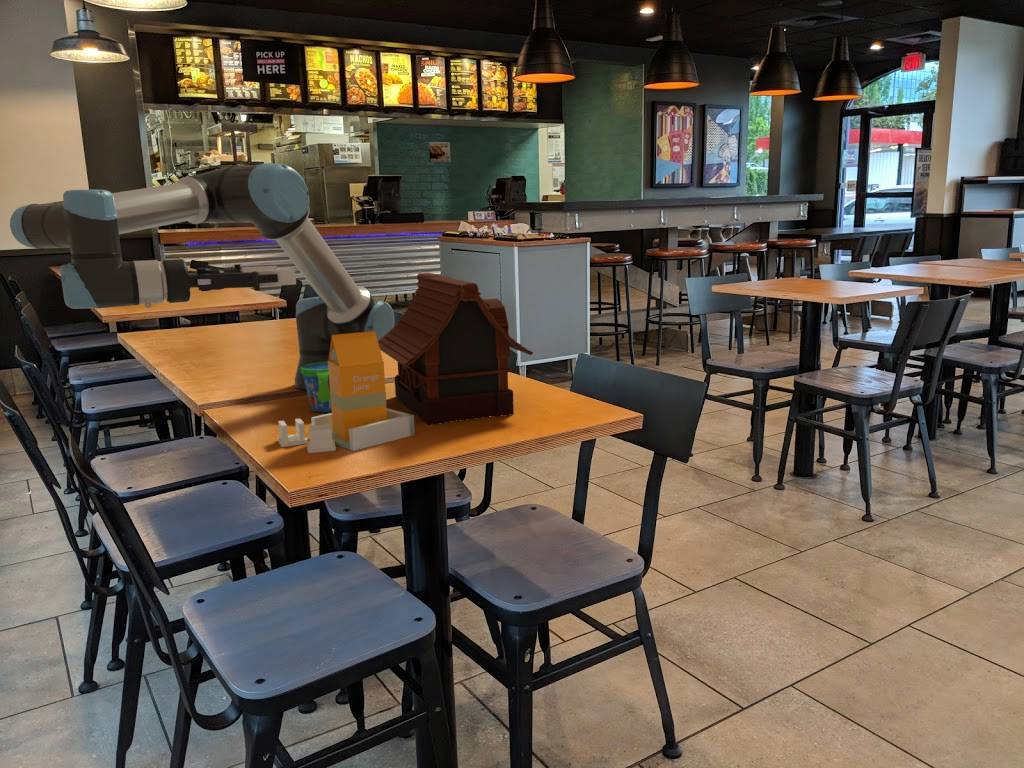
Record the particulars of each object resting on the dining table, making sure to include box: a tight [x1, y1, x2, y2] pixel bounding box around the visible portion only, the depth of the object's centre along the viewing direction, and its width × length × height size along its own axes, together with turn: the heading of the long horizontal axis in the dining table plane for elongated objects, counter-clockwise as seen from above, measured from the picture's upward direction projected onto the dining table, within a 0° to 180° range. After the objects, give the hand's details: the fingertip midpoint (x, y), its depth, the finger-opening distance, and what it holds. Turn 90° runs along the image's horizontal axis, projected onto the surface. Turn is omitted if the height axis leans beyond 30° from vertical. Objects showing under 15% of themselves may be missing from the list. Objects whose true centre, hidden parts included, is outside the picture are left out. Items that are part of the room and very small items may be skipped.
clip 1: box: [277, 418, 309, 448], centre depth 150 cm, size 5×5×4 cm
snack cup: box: [301, 362, 332, 413], centre depth 175 cm, size 16×10×10 cm
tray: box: [310, 407, 416, 452], centre depth 153 cm, size 14×14×4 cm
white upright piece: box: [307, 424, 337, 454], centre depth 145 cm, size 5×5×4 cm
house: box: [378, 272, 534, 426], centre depth 175 cm, size 35×28×29 cm
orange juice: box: [328, 331, 388, 442], centre depth 151 cm, size 8×9×20 cm
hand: (285, 274), depth 146 cm, fingers open, 13 cm apart
